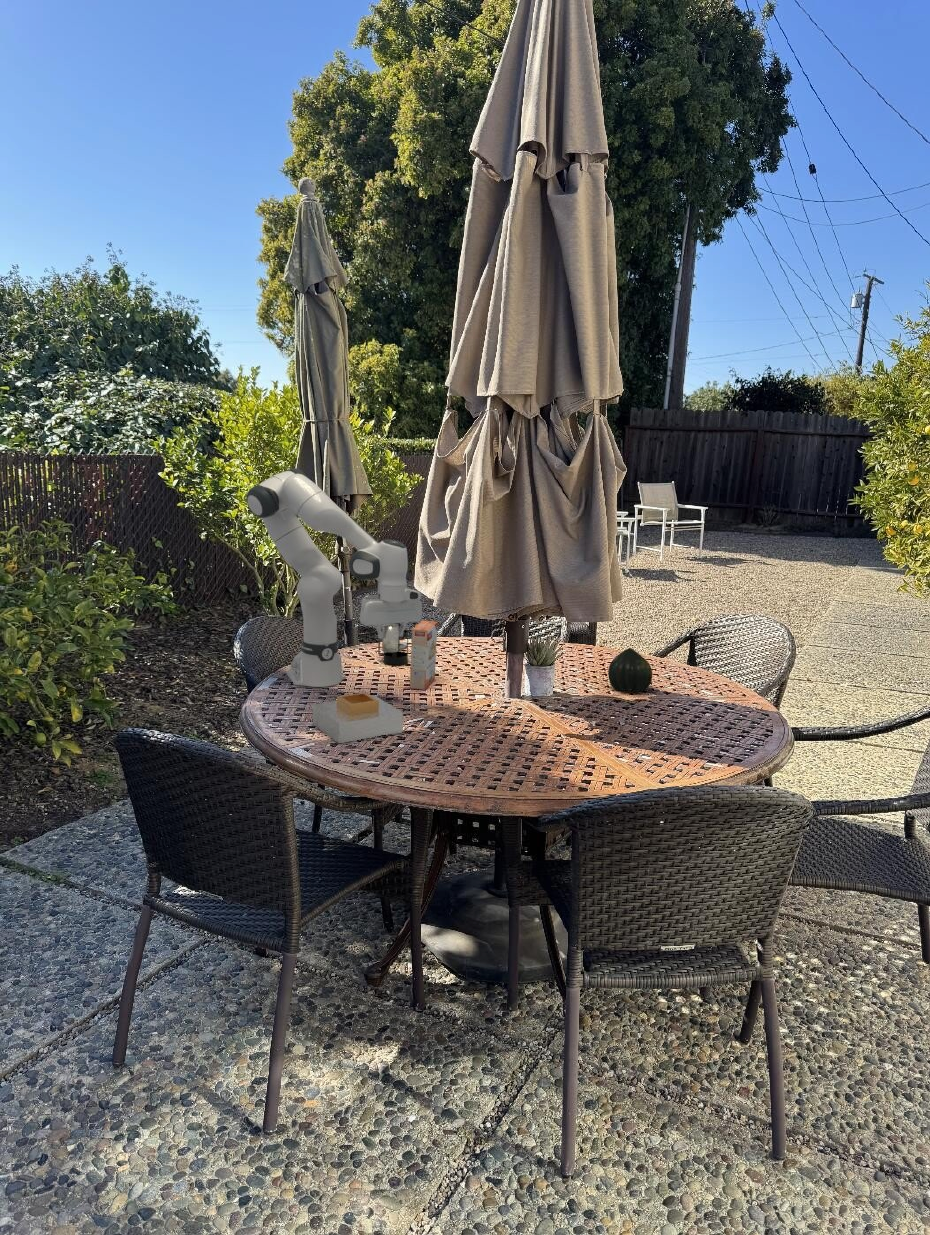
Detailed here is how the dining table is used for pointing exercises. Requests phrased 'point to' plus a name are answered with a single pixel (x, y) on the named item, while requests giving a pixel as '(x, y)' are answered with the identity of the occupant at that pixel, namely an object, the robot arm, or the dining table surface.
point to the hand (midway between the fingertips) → (390, 637)
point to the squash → (630, 672)
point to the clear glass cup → (390, 638)
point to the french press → (396, 653)
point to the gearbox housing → (357, 718)
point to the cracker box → (423, 655)
